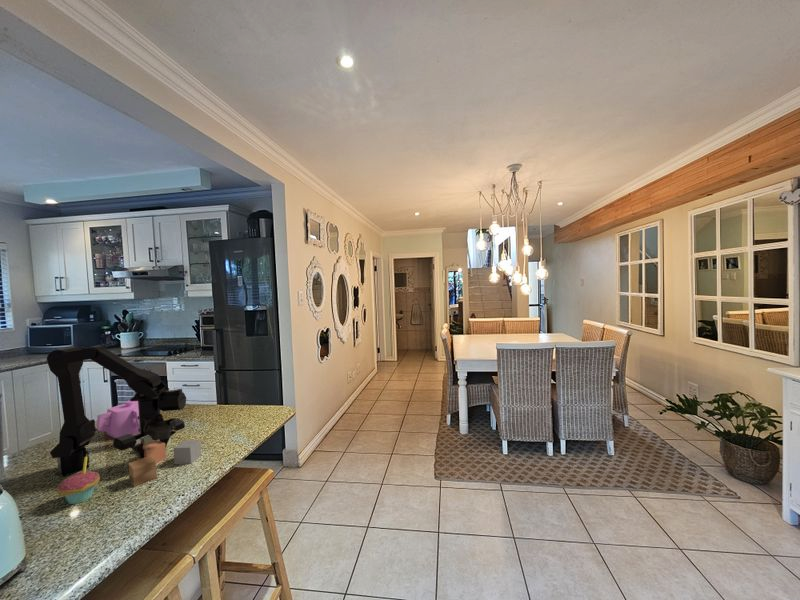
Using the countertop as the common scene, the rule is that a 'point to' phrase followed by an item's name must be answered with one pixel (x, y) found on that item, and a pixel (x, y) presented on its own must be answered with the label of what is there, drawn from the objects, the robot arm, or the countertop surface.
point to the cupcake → (79, 485)
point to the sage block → (149, 439)
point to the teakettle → (120, 420)
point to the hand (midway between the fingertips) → (152, 458)
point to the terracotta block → (155, 450)
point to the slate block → (187, 452)
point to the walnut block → (142, 471)
